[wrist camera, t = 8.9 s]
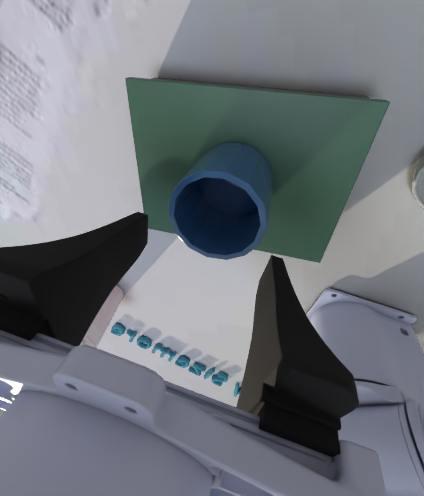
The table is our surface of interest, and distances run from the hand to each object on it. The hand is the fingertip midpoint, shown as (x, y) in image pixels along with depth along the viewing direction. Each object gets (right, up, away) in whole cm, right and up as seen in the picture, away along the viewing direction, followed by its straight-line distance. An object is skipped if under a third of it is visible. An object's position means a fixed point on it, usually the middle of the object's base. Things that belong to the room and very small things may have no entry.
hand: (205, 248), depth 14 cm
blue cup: (+2, +5, +4) cm, 6 cm away
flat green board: (+3, +7, +7) cm, 10 cm away
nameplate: (-1, -22, +31) cm, 38 cm away
